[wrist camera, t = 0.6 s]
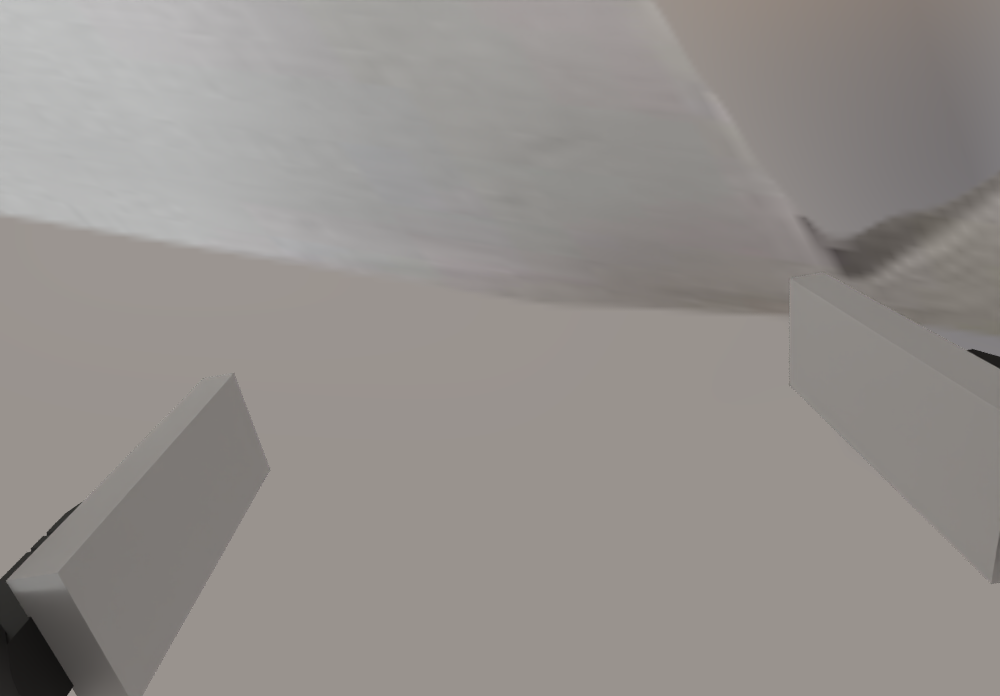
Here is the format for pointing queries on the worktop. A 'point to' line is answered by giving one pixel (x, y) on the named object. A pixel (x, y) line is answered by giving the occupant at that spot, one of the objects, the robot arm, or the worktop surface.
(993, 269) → the worktop surface
